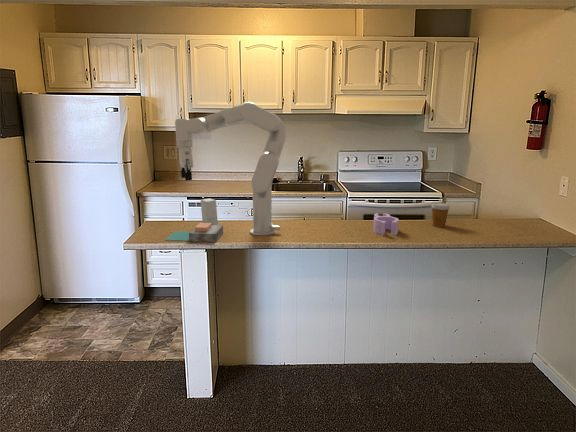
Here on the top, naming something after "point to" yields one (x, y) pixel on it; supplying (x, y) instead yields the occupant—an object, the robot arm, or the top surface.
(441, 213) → the disposable coffee cup
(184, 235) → the mat
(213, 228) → the grey flat block
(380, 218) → the clip
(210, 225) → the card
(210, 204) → the skincare box
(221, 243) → the top surface
